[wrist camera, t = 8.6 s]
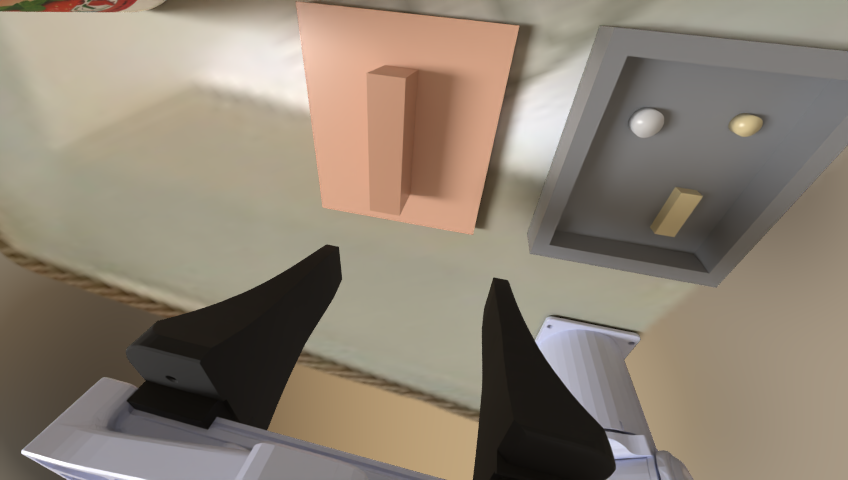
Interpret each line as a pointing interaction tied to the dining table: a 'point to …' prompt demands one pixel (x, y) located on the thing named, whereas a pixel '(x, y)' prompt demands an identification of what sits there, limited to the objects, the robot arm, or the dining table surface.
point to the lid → (404, 110)
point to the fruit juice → (78, 5)
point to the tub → (687, 151)
